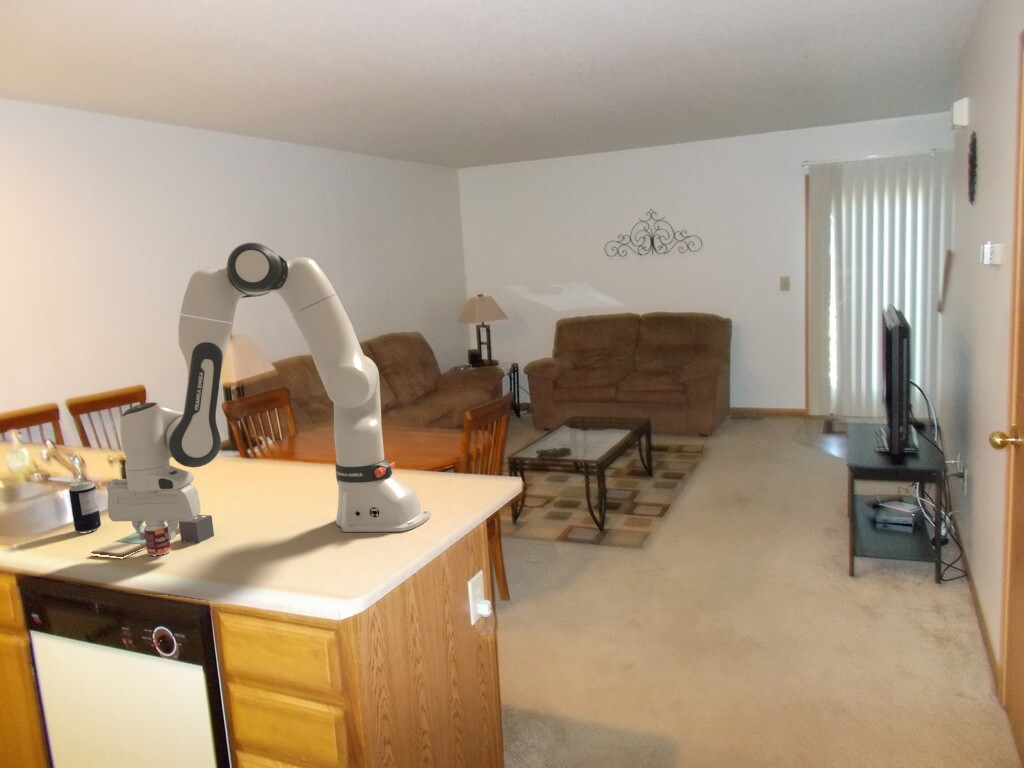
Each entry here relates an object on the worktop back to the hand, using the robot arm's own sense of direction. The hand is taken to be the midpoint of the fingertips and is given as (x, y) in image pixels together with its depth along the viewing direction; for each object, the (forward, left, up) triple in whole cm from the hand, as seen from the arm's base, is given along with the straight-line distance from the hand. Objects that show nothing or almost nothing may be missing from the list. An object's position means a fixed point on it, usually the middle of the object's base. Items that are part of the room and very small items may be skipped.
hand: (157, 539), depth 174 cm
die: (-2, -9, -3) cm, 10 cm away
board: (+10, -7, -3) cm, 13 cm away
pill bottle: (0, 0, -3) cm, 3 cm away
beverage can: (+31, -9, -3) cm, 32 cm away
